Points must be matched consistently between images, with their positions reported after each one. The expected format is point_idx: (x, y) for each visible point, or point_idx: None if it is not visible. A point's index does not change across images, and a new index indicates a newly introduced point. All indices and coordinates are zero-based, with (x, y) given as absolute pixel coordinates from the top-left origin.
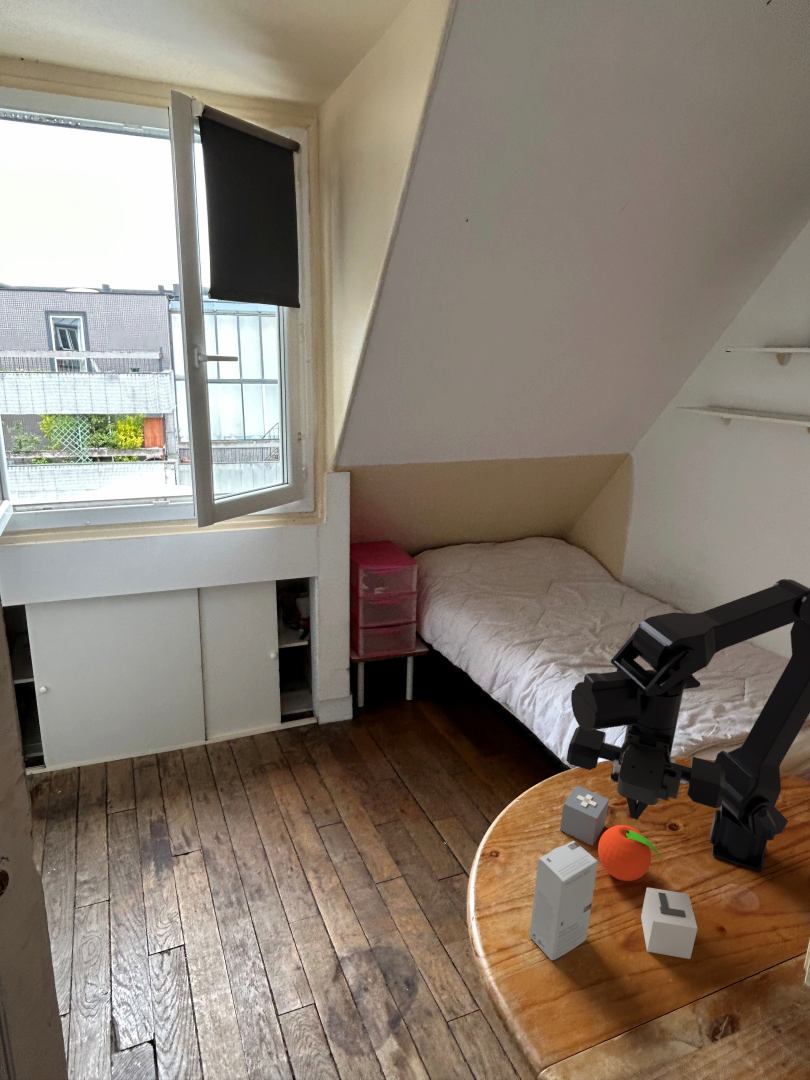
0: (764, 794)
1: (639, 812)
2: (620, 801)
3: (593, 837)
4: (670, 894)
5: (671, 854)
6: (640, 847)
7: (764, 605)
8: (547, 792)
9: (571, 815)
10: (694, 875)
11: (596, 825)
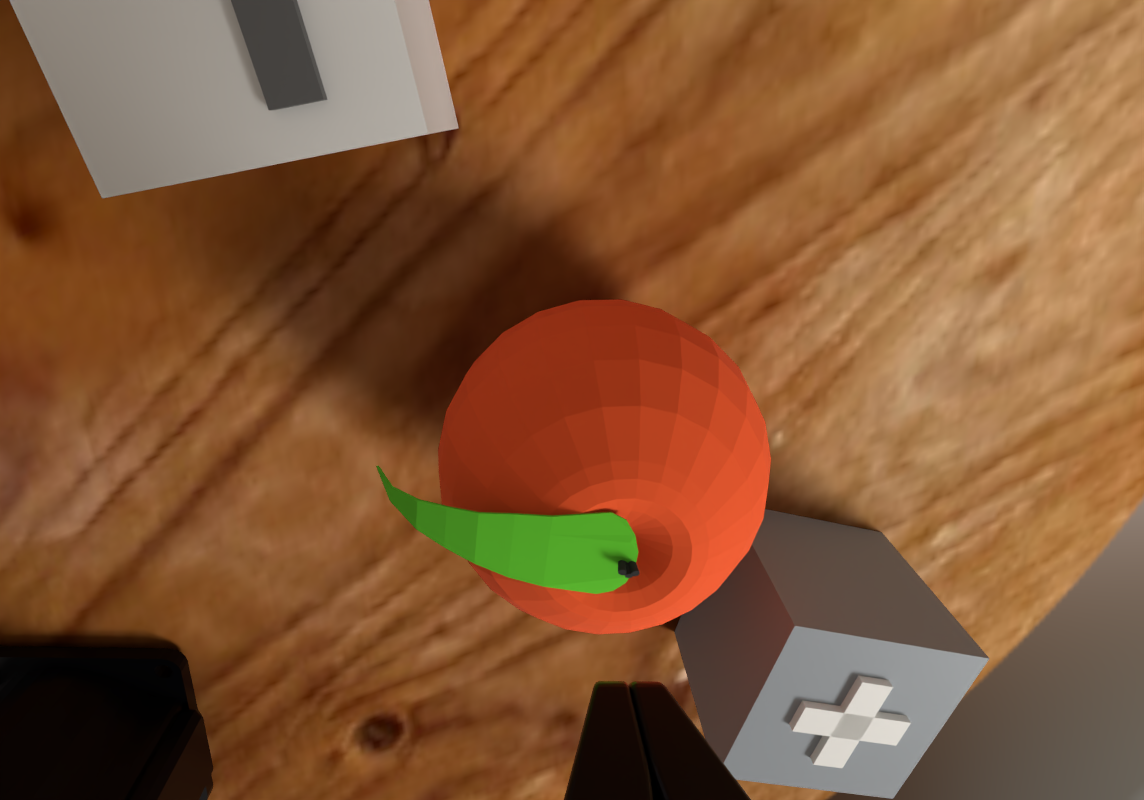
0: None
1: (602, 784)
2: None
3: None
4: (234, 133)
5: (364, 592)
6: (515, 478)
7: None
8: None
9: (904, 607)
10: (240, 516)
11: (764, 593)
